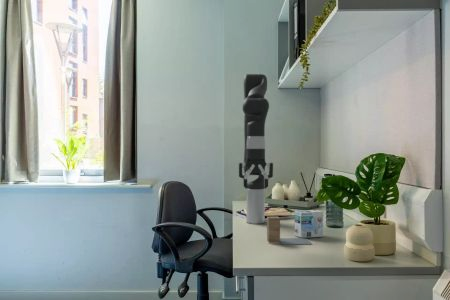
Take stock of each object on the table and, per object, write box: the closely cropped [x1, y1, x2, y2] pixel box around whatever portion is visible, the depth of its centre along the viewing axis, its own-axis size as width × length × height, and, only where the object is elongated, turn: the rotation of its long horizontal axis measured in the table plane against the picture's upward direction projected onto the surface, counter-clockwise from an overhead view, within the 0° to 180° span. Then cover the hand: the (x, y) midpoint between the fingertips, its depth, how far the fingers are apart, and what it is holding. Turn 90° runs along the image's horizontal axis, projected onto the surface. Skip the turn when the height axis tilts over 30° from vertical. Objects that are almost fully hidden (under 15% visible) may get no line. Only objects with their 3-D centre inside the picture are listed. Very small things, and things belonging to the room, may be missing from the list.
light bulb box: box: [294, 209, 324, 239], centre depth 173 cm, size 11×7×11 cm, turn 105°
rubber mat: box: [279, 237, 313, 246], centre depth 164 cm, size 10×12×1 cm
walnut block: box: [266, 216, 281, 244], centre depth 163 cm, size 4×4×10 cm
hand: (255, 188), depth 163 cm, fingers open, 7 cm apart
